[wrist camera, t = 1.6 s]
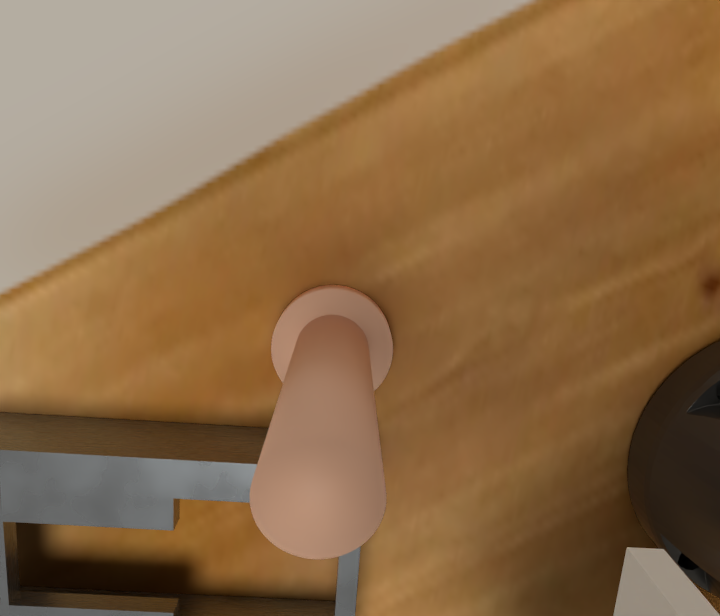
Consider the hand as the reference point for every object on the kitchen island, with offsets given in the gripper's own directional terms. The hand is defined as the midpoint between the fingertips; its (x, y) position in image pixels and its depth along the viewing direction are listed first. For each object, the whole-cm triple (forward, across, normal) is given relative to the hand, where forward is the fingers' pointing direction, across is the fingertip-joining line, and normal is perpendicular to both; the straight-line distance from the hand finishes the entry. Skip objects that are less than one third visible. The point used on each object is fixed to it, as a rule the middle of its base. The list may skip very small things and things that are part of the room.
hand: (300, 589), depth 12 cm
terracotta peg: (+19, 0, 0) cm, 19 cm away
